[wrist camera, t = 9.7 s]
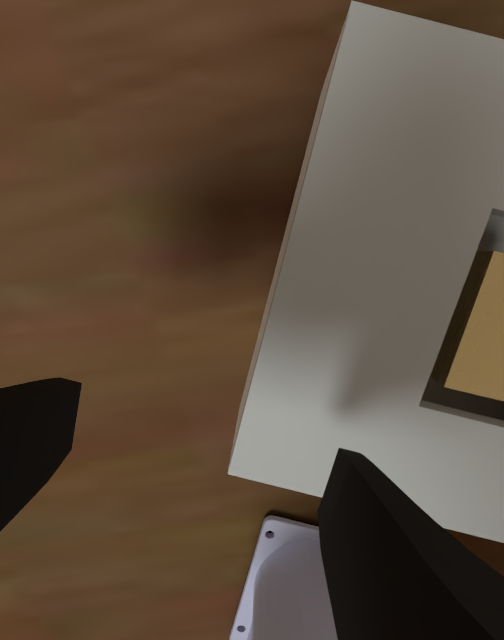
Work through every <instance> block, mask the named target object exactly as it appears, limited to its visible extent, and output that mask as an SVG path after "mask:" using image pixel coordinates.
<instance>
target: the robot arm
mask: <svg viewBox="0 0 504 640" xmlns="http://www.w3.org/2000/svg"><path fill="white" fill-rule="evenodd" d="M81 385H82V383H80V382H76V381H72V380H68V379H64V378H51V379H44V380H39V381H33V382H29V383H24V384H19V385H14V386H10V387H5V388H0V531H1V530H2V529H3V528H4V527H5V526H6V525H7V524H8V523H9V522H10V521H11V520H12V519H13V518H14V517H15V516H16V515H17V514H18V513H19V511H20V510H21V509H22V508H23V507H24V506H25V505H26V504H27V503H28V502H29V501H30V500H31V499H32V498H33V497H34V496H35V495H36V494H37V493H38V491H39V490H40V489H41V488H42V487H43V486H44V485H45V484H46V483H47V482H48V480H49V479H50V478H51V477H52V475H53V474H54V473H55V471H56V470H57V469H58V467H59V466H60V465H61V463H62V462H63V460H64V459H65V458H66V456H67V455H68V453H69V452H70V451H71V449H72V442H73V436H74V429H75V423H76V417H77V410H78V404H79V397H80V391H81ZM318 522H319V527H317V526H313V525H309V524H305V523H301V522H297V521H293V520H289V519H285V518H281V517H277V516H272V515H270V516H267V517H266V518H265V519H264V521H263V524H262V528H261V531H260V534H259V538H258V541H257V545H256V548H255V551H254V555H253V558H252V561H251V565H250V568H249V572H248V575H247V578H246V582H245V585H244V588H243V592H242V595H241V599H240V602H239V605H238V609H237V612H236V616H235V619H234V622H233V626H232V629H231V632H230V640H504V577H503V576H502V575H500V574H499V573H498V572H496V571H495V570H494V569H493V568H491V567H490V566H489V565H487V564H486V563H485V562H483V561H482V560H481V559H480V558H478V557H477V556H476V555H474V554H473V553H472V552H471V551H470V550H468V549H467V548H466V547H465V546H463V545H462V544H461V543H460V542H459V541H457V540H456V539H455V538H454V537H453V536H452V535H451V534H449V533H448V532H447V531H446V530H445V529H444V528H442V527H441V526H440V525H439V524H438V523H437V522H436V521H434V520H433V519H432V518H431V517H430V516H429V515H428V514H427V513H426V512H424V511H423V510H422V509H421V508H420V507H419V506H418V505H417V504H416V503H415V502H414V501H413V500H412V499H410V498H409V497H408V496H407V495H406V494H405V493H404V492H403V491H402V490H401V489H400V488H399V487H398V486H397V485H396V484H395V483H394V482H393V481H392V480H391V479H389V478H388V477H387V476H386V475H385V474H384V473H383V472H382V471H381V470H380V469H379V468H378V467H377V466H376V465H375V464H374V463H372V462H371V461H370V460H369V459H368V458H367V457H365V456H364V455H363V454H361V453H359V452H355V451H351V450H347V449H343V448H339V449H338V452H337V455H336V458H335V461H334V464H333V467H332V470H331V473H330V476H329V479H328V482H327V485H326V488H325V491H324V494H323V497H322V500H321V503H320V506H319V509H318ZM267 531H272V533H267Z"/></svg>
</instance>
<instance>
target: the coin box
mask: <svg viewBox="0 0 504 640" xmlns="http://www.w3.org/2000/svg"><path fill="white" fill-rule="evenodd" d="M476 251H497V252H501V253H504V39H500V38H497V37H493V36H489V35H485V34H481V33H477V32H473V31H469V30H465V29H461V28H457V27H454V26H450V25H446V24H442V23H438V22H434V21H430V20H426V19H422V18H418V17H415V16H411V15H407V14H403V13H399V12H395V11H391V10H387V9H383V8H379V7H375V6H372V5H368V4H364V3H360V2H356V1H351V4H350V7H349V10H348V13H347V16H346V19H345V22H344V25H343V28H342V31H341V34H340V37H339V40H338V43H337V46H336V49H335V52H334V55H333V58H332V61H331V64H330V67H329V70H328V73H327V76H326V79H325V82H324V85H323V88H322V91H321V94H320V98H319V102H318V106H317V110H316V114H315V118H314V122H313V125H312V129H311V133H310V137H309V141H308V145H307V149H306V152H305V156H304V160H303V164H302V168H301V172H300V176H299V179H298V183H297V187H296V191H295V195H294V199H293V203H292V206H291V210H290V214H289V218H288V222H287V226H286V230H285V233H284V237H283V241H282V245H281V249H280V253H279V257H278V261H277V264H276V268H275V272H274V276H273V280H272V284H271V288H270V291H269V295H268V299H267V303H266V307H265V311H264V315H263V318H262V322H261V326H260V330H259V334H258V338H257V342H256V345H255V349H254V353H253V357H252V361H251V365H250V369H249V372H248V376H247V380H246V384H245V388H244V392H243V396H242V400H241V403H240V408H239V413H238V419H237V424H236V430H235V435H234V441H233V446H232V452H231V457H230V463H229V468H228V474H230V475H234V476H238V477H242V478H246V479H250V480H254V481H258V482H262V483H266V484H270V485H274V486H278V487H282V488H286V489H290V490H294V491H298V492H302V493H306V494H310V495H314V496H318V497H323V494H324V491H325V488H326V485H327V482H328V479H329V476H330V473H331V470H332V467H333V464H334V461H335V458H336V455H337V452H338V449H339V448H343V449H347V450H351V451H355V452H359V453H361V454H363V455H364V456H365V457H367V458H368V459H369V460H370V461H371V462H372V463H374V464H375V465H376V466H377V467H378V468H379V469H380V470H381V471H382V472H383V473H384V474H385V475H386V476H387V477H388V478H389V479H391V480H392V481H393V482H394V483H395V484H396V485H397V486H398V487H399V488H400V489H401V490H402V491H403V492H404V493H405V494H406V495H407V496H408V497H409V498H410V499H412V500H413V501H414V502H415V503H416V504H417V505H418V506H419V507H420V508H421V509H422V510H423V511H424V512H426V513H427V514H428V515H429V516H430V517H431V518H432V519H433V520H434V521H436V522H437V523H438V524H439V525H440V526H441V527H442V528H446V529H450V530H454V531H458V532H462V533H466V534H470V535H474V536H478V537H482V538H486V539H490V540H494V541H498V542H502V543H504V401H500V400H496V399H492V398H488V397H484V396H479V395H475V394H471V393H467V392H463V391H458V390H454V389H450V388H446V387H443V386H442V385H441V384H439V383H438V382H437V381H435V380H434V379H433V378H432V377H430V374H431V372H432V369H433V366H434V364H435V361H436V358H437V356H438V353H439V350H440V348H441V345H442V342H443V340H444V337H445V334H446V331H447V329H448V326H449V323H450V321H451V318H452V315H453V313H454V310H455V307H456V305H457V302H458V299H459V297H460V294H461V291H462V289H463V286H464V283H465V281H466V278H467V275H468V273H469V270H470V267H471V264H472V262H473V259H474V256H475V254H476Z"/></svg>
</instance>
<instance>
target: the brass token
mask: <svg viewBox="0 0 504 640" xmlns="http://www.w3.org/2000/svg"><path fill="white" fill-rule="evenodd" d="M430 377H432V378H433V379H434V380H435V381H437V382H438V383H439V384H441V385H442V386H443V387H446V388H450V389H454V390H458V391H463V392H467V393H471V394H475V395H479V396H484V397H488V398H492V399H496V400H500V401H504V253H501V252H497V251H476V254H475V256H474V259H473V262H472V264H471V267H470V270H469V273H468V275H467V278H466V281H465V283H464V286H463V289H462V291H461V294H460V297H459V299H458V302H457V305H456V307H455V310H454V313H453V315H452V318H451V321H450V323H449V326H448V329H447V331H446V334H445V337H444V340H443V342H442V345H441V348H440V350H439V353H438V356H437V358H436V361H435V364H434V366H433V369H432V372H431V374H430Z"/></svg>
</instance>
